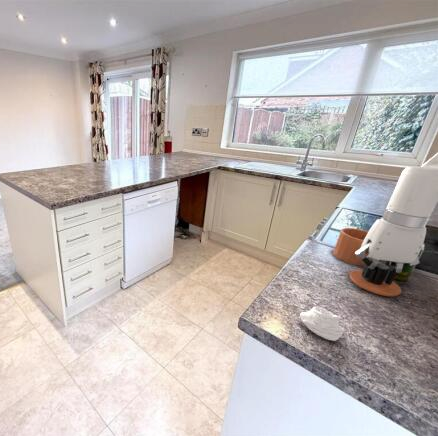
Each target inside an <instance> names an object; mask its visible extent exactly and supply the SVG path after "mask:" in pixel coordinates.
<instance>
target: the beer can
mask: <svg viewBox="0 0 438 436" xmlns="http://www.w3.org/2000/svg"><path fill="white" fill-rule="evenodd" d="M425 246H426V245H425V243H424V242H423V245H422V248H421V250H420V252H419V254H418V259H419V260H420V259H421V257H422V254H423V252H424V250H425ZM389 263H390V261H386V262H385V265H386V266H389ZM416 266H417V264H416V265H412V266H409V267H407V268H405V269H403V270H402V271H401V272H400V273H397V274H396V276H395V278H394V280H393V282H395V283H396V284H397V285H403V284H405V283H407V282H408V281H409V279H410V277H411V275H412V273H413V271H414V269H415V268H416Z"/></svg>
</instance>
